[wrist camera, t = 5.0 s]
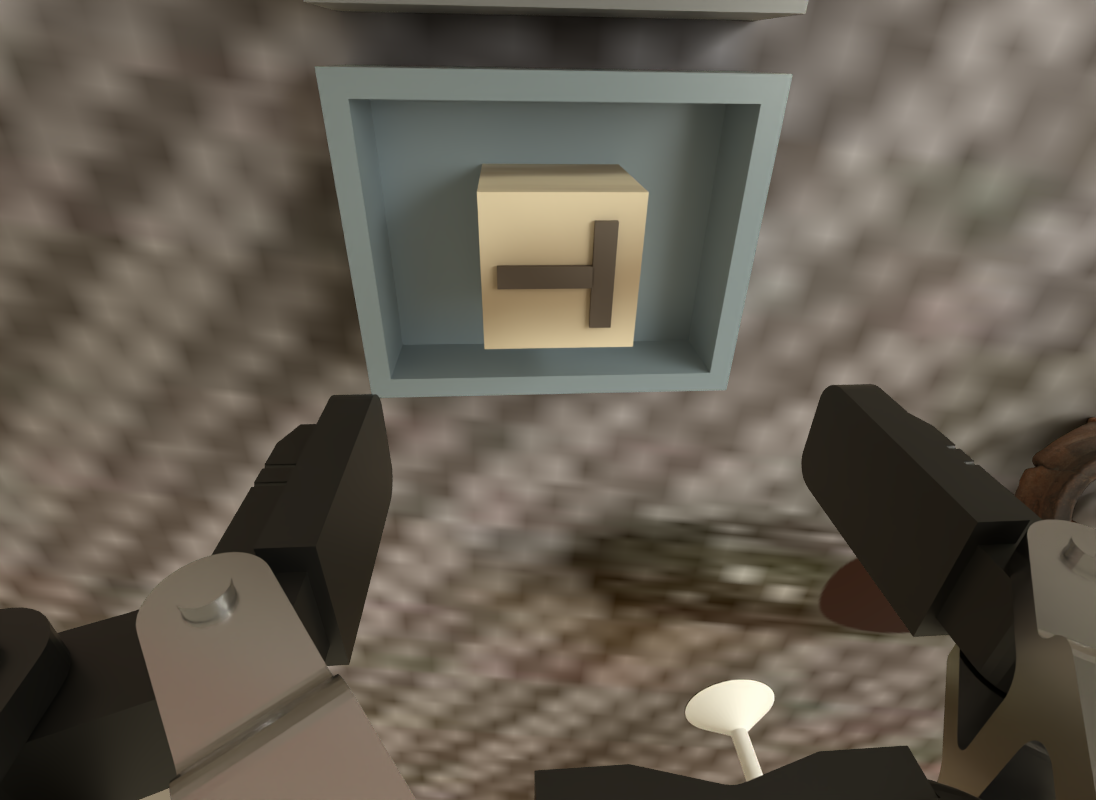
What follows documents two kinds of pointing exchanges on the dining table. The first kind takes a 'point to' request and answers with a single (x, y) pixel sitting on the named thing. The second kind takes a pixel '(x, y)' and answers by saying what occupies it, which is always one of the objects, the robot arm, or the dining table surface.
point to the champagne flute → (733, 715)
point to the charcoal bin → (584, 8)
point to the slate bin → (547, 138)
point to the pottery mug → (1060, 474)
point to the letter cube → (559, 254)
